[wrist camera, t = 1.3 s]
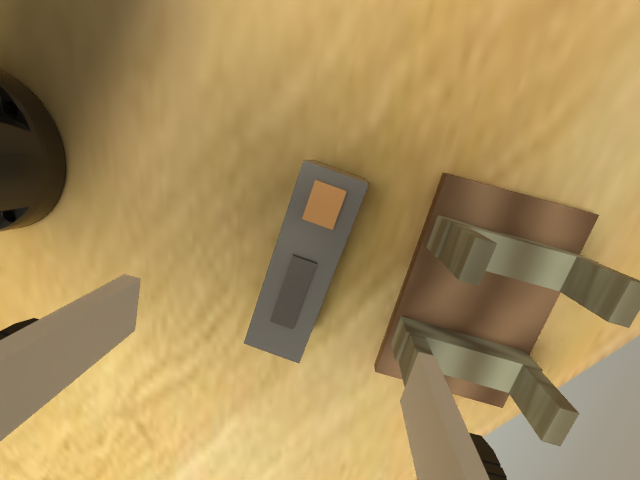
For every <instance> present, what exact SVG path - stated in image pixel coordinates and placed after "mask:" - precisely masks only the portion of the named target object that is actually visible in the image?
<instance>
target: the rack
mask: <svg viewBox="0 0 640 480" xmlns="http://www.w3.org/2000/svg"><path fill="white" fill-rule="evenodd" d="M598 217H599V215H597V214H593V213H589V212H586V211H582V210H578V209H575V208H571V207H567V206H564V205H560V204H556V203H553V202H549V201H545V200H542V199H538V198H534V197H531V196H527V195H523V194H520V193H516V192H512V191H509V190H505V189H501V188H498V187H494V186H490V185H487V184H483V183H479V182H476V181H472V180H468V179H465V178H461V177H457V176H454V175H450V174H446V173H443V174H442V177H441V180H440V182H439V185H438V188H437V191H436V194H435V196H434V199H433V202H432V205H431V208H430V210H429V213H428V216H427V219H426V222H425V224H424V227H423V230H422V233H421V236H420V238H419V241H418V244H417V247H416V250H415V252H414V255H413V258H412V261H411V264H410V266H409V269H408V272H407V275H406V277H405V280H404V283H403V286H402V289H401V291H400V294H399V297H398V300H397V303H396V305H395V308H394V311H393V314H392V317H391V319H390V322H389V325H388V328H387V331H386V333H385V336H384V339H383V342H382V345H381V347H380V350H379V353H378V356H377V359H376V361H375V364H374V365H375V372H378V373H381V374H385V375H388V376H392V377H395V378H399V379H402V380H403V382H404V386H406V384H407V381H408V378H409V376H410V373H411V370H412V368H413V365H414V362H415V360H416V357H417V354H418V352H422V353H425V354H429V355H433V356H435V357H436V359H437V362H438V364H439V366H440V369H441V371H442V373H443V375H444V378H445V380H446V382H447V384H448V387H449V389H450V391H451V393H452V394H455V395H459V396H462V397H466V398H469V399H473V400H476V401H480V402H483V403H487V404H490V405H494V406H497V407H501V408H503V406H504V404H505V402H506V400H507V398H508V396H509V394H510V395H511V397H512V398H513V400H514V401H515V403H516V404H517V406H518V407H519V409H520V410H521V412H522V413H523V415H524V416H525V417H526V418H527V420H528V422H529V423H530V425H531V426H532V428H533V429H534V430H535V432H536V434H537V435H538V436H539V438H540V439H541V441H543V442H547V443H551V444H554V445H558V446H561V444H562V443H563V441H564V439H565V437H566V436H567V434H568V432H569V430H570V429H571V427H572V425H573V424H574V422H575V420H576V418H577V417H578V415H579V413H578V412H577V411H576V409H575V408H574V407H573V406H572V405H571V404H570V403H569V402H568V401H567V399H566V398H565V397H564V396H563V395H562V394H561V393H560V392H559V391H558V389H557V388H556V387H555V386H554V385H553V384H552V383H551V382H550V381H549V379H548V378H547V377H546V376H545V375H544V374H543V373H542V369H541V368H540V367H539V366H538V365H537V363H536V362H535V361H534V360H533V359H532V358H531V357H530V356H529V354H530V352H531V350H532V348H533V346H534V344H535V342H536V340H537V338H538V336H539V334H540V332H541V330H542V328H543V326H544V324H545V322H546V320H547V318H548V316H549V314H550V312H551V310H552V308H553V306H554V304H555V302H556V300H557V298H558V296H559V294H560V292H561V293H563V294H565V295H566V296H568V297H569V298H571V299H572V300H574V301H576V302H577V303H579V304H580V305H582V306H584V307H585V308H587V309H588V310H590V311H591V312H593V313H595V314H596V315H598V316H599V317H601V318H602V319H604V320H606V321H607V322H610V323H614V324H617V325H621V326H624V327H628V328H629V327H630V325H631V324H632V322H633V320H634V318H635V317H636V315H637V313H638V312H639V310H640V281H639V280H637V279H634V278H632V277H630V276H627V275H625V274H623V273H620V272H618V271H615V270H613V269H611V268H608V267H606V266H604V265H601V264H599V263H598V262H595V261H593V260H591V259H588V258H586V257H583V256H581V255H579V254H580V252H581V250H582V248H583V246H584V244H585V242H586V240H587V238H588V236H589V234H590V232H591V230H592V228H593V226H594V224H595V222H596V220H597V218H598Z"/></svg>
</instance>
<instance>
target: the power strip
mask: <svg viewBox="0 0 640 480" xmlns="http://www.w3.org/2000/svg"><path fill="white" fill-rule="evenodd" d="M368 185H369V183H368V182H367V181H366V180H365V179H364V178H361V177H359V176H356V175H353V174H350V173H348V172H345V171H342V170H339V169H337V168H334V167H331V166H328V165H326V164H323V163H320V162H317V161H315V160H303V163H302V166H301V169H300V172H299V176H298V179H297V182H296V185H295V188H294V191H293V194H292V197H291V200H290V203H289V206H288V209H287V212H286V215H285V218H284V221H283V225H282V228H281V231H280V234H279V237H278V240H277V243H276V246H275V249H274V252H273V255H272V258H271V261H270V264H269V267H268V270H267V274H266V277H265V280H264V283H263V286H262V289H261V292H260V295H259V298H258V301H257V304H256V307H255V310H254V313H253V316H252V319H251V323H250V326H249V329H248V332H247V335H246V338H245V341H244V344H247V345H249V346H252V347H255V348H258V349H261V350H263V351H266V352H269V353H272V354H274V355H277V356H280V357H283V358H285V359H288V360H291V361H294V362H296V363H300V360H301V357H302V355H303V352H304V350H305V347H306V344H307V342H308V339H309V337H310V334H311V332H312V329H313V326H314V324H315V321H316V319H317V316H318V314H319V311H320V308H321V306H322V303H323V301H324V298H325V295H326V293H327V290H328V288H329V285H330V283H331V280H332V277H333V275H334V272H335V270H336V267H337V264H338V262H339V259H340V257H341V254H342V252H343V249H344V246H345V244H346V241H347V239H348V236H349V234H350V231H351V228H352V226H353V223H354V221H355V218H356V215H357V213H358V210H359V208H360V205H361V203H362V200H363V197H364V195H365V192H366V190H367V187H368Z"/></svg>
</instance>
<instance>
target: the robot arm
mask: <svg viewBox="0 0 640 480" xmlns="http://www.w3.org/2000/svg"><path fill="white" fill-rule="evenodd" d="M64 178H65V157H64V150H63V146H62V142H61V139H60V136H59V133H58V130H57V128H56V126H55V124H54V122H53V120H52V118H51V116H50V115H49V113H48V111H47V110H46V108H45V107H44V106H43V104H42V103H41V102H40V100H39V99H38V98H37V97H36V96H35V95H34V94H33V93H32V92H31V91H30V90H29V89H28V88H27V87H26V86H25V85H23V84H22V83H21V82H19V81H18V80H17V79H15V78H14V77H12V76H10V75H8V74H7V73H4V72H2V71H0V231H5V230H10V229H15V228H20V227H24V226H28V225H31V224H33V223H35V222H37V221H39V220H40V219H42V218H43V217H44V216H46V215H47V214H48V213H49V212H50V211H51V209H52V208H53V207H54V205H55V204H56V202H57V200H58V199H59V196H60V194H61V191H62V188H63V184H64ZM139 287H140V278H136V277H133V276H129V275H125V274H124V275H122V276H120V277H118V278H117V279H115V280H113V281H111V282H109V283H107V284H105V285H103V286H102V287H100V288H98V289H96V290H94V291H92V292H90V293H88V294H87V295H85V296H83V297H81V298H79V299H77V300H75V301H73V302H71V303H70V304H68V305H66V306H64V307H62V308H60V309H58V310H56V311H55V312H53V313H51V314H49V315H47V316H45V317H43V318H41V319H36V318H33V319H29V320H26V321H22V322H19V323H15V324H13V325H11V326H9V327H7V328H5V329H3V330H1V331H0V441H1V440H3V439H4V438H5V437H6V436H7V435H9V434H10V433H11V432H12V431H13V430H15V429H16V428H17V427H18V426H20V425H21V424H22V423H23V422H24V421H26V420H27V419H28V418H29V417H30V416H32V415H33V414H34V413H35V412H37V411H38V410H39V409H40V408H41V407H43V406H44V405H45V404H46V403H47V402H49V401H50V400H51V399H52V398H54V397H55V396H56V395H57V394H58V393H60V392H61V391H62V390H63V389H64V388H66V387H67V386H68V385H69V384H71V383H72V382H73V381H74V380H75V379H77V378H78V377H79V376H80V375H81V374H83V373H84V372H85V371H86V370H88V369H89V368H90V367H91V366H92V365H94V364H95V363H96V362H97V361H98V360H100V359H101V358H102V357H103V356H105V355H106V354H107V353H108V352H109V351H111V350H112V349H113V348H114V347H115V346H117V345H118V344H119V343H120V342H122V341H123V340H124V339H125V338H126V337H128V336H129V335H130V334H131V333H132V332H134V331H135V326H136V316H137V307H138V297H139ZM400 403H401V407H402V412H403V416H404V421H405V425H406V430H407V435H408V439H409V444H410V448H411V453H412V457H413V462H414V467H415V471H416V476H417V480H507V479H506V475H505V473H504V471H503V469H502V468H501V467H500V463H499V461H498V459H497V457H496V455H495V453H494V451H493V449H492V448H491V447H490V446H489V445H488V443H487V442H486V441H485V440H484V439H483V437H482V436H479V435H476V434H472V433H469V432H468V429H467V427H466V425H465V423H464V420H463V418H462V416H461V414H460V411H459V409H458V407H457V405H456V402H455V400H454V398H453V396H452V393H451V391H450V389H449V387H448V384H447V382H446V380H445V378H444V375H443V373H442V371H441V369H440V366H439V364H438V362H437V359H436V357H435V356H433V355H429V354H425V353H422V352H418V354H417V357H416V360H415V362H414V365H413V368H412V370H411V373H410V376H409V378H408V381H407V384H406V386H405V389H404V392H403V394H402V397H401V400H400Z"/></svg>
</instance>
